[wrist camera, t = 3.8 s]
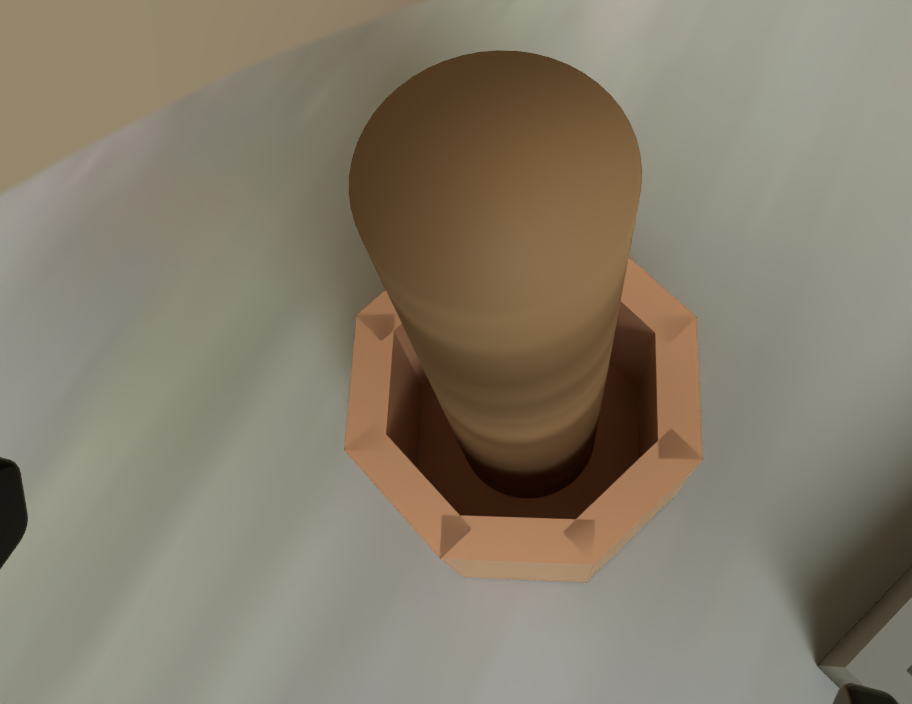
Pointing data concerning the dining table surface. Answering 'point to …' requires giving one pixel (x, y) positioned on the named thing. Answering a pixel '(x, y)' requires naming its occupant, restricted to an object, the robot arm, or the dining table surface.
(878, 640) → the grey tray
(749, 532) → the dining table surface
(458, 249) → the walnut dowel
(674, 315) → the terracotta cup
